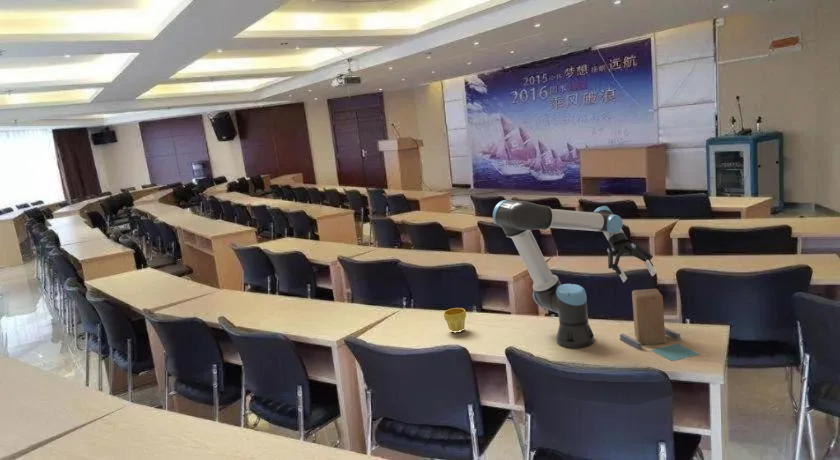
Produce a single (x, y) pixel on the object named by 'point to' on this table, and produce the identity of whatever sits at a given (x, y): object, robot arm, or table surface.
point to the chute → (638, 345)
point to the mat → (675, 352)
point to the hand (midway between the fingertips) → (639, 277)
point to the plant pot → (455, 318)
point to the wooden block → (648, 316)
